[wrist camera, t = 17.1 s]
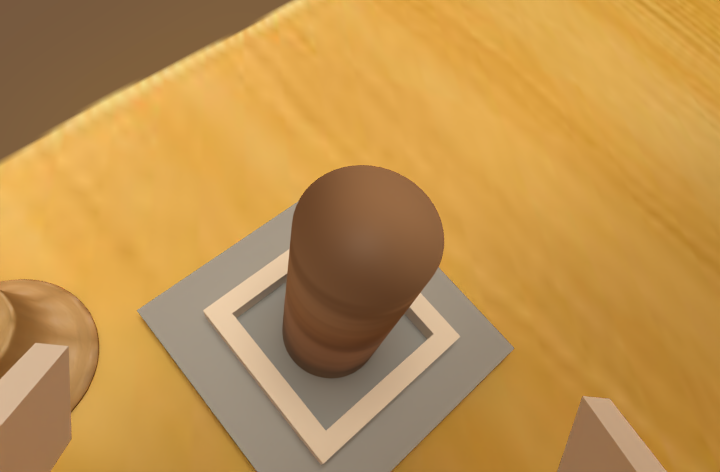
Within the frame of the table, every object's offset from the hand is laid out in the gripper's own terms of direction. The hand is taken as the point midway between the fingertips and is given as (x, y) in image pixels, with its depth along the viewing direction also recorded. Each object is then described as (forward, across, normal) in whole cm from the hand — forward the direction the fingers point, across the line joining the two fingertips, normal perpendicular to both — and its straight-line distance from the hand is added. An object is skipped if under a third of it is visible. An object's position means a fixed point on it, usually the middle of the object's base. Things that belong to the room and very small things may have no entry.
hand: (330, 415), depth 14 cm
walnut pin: (+13, +1, -5) cm, 14 cm away
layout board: (+14, +1, -6) cm, 15 cm away
